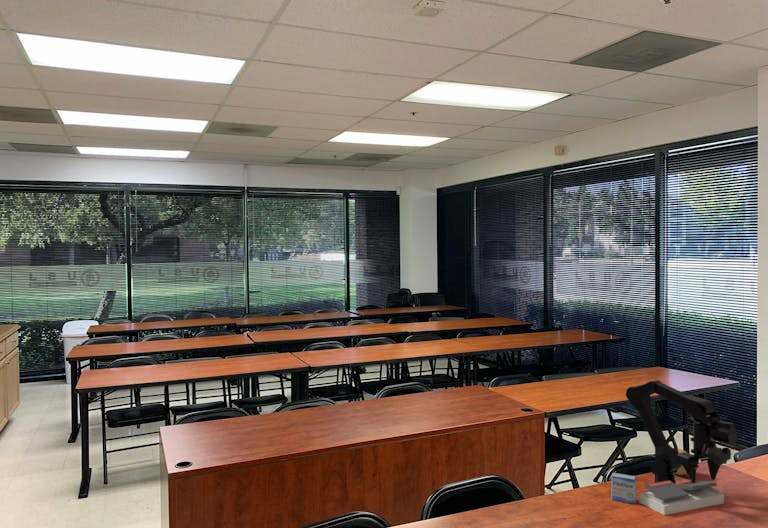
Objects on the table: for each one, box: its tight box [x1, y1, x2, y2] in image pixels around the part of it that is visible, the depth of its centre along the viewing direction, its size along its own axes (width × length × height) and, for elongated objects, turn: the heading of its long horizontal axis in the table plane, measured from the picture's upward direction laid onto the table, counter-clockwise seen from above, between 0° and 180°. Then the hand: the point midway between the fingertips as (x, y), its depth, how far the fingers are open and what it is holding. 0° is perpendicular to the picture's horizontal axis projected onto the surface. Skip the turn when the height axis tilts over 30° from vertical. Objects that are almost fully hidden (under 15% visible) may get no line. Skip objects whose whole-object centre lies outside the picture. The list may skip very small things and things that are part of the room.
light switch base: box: [638, 486, 725, 516], centre depth 195 cm, size 11×27×4 cm, turn 110°
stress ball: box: [674, 448, 688, 476], centre depth 222 cm, size 10×10×10 cm
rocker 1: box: [644, 480, 689, 502], centre depth 192 cm, size 8×11×2 cm
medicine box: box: [610, 472, 637, 505], centre depth 197 cm, size 8×4×9 cm, turn 62°
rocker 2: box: [675, 480, 718, 490], centre depth 197 cm, size 8×11×2 cm
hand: (703, 481), depth 194 cm, fingers open, 9 cm apart
